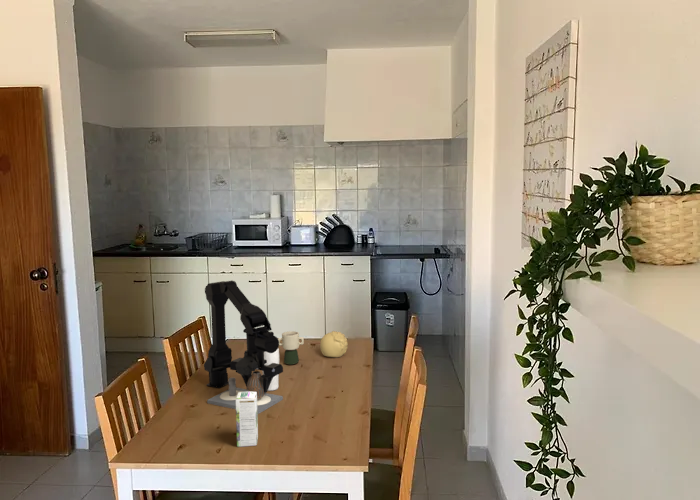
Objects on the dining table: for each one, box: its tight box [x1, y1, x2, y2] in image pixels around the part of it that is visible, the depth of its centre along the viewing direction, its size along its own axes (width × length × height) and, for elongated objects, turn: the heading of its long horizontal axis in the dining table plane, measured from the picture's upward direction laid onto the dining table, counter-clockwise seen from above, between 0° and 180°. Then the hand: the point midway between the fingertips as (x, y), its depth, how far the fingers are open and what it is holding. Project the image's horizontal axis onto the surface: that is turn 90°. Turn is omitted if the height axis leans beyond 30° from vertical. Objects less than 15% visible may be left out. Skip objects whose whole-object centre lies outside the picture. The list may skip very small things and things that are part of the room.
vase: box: [246, 370, 267, 399], centre depth 197 cm, size 7×7×9 cm
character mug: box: [277, 330, 305, 365], centre depth 240 cm, size 11×7×13 cm, turn 95°
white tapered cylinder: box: [261, 347, 280, 392], centre depth 211 cm, size 7×7×15 cm
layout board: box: [206, 377, 284, 415], centre depth 200 cm, size 22×14×7 cm, turn 62°
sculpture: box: [319, 330, 349, 358], centre depth 250 cm, size 12×12×11 cm
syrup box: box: [235, 391, 259, 448], centre depth 167 cm, size 6×6×14 cm
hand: (257, 390), depth 197 cm, fingers closed on vase, 7 cm apart
